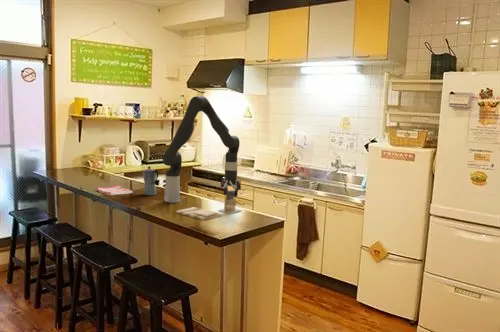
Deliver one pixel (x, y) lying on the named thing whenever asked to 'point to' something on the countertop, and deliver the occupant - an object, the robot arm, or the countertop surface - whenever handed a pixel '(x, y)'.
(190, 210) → the board
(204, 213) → the tile
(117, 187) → the dish towel
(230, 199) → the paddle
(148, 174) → the moka pot
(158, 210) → the countertop surface
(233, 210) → the mat
